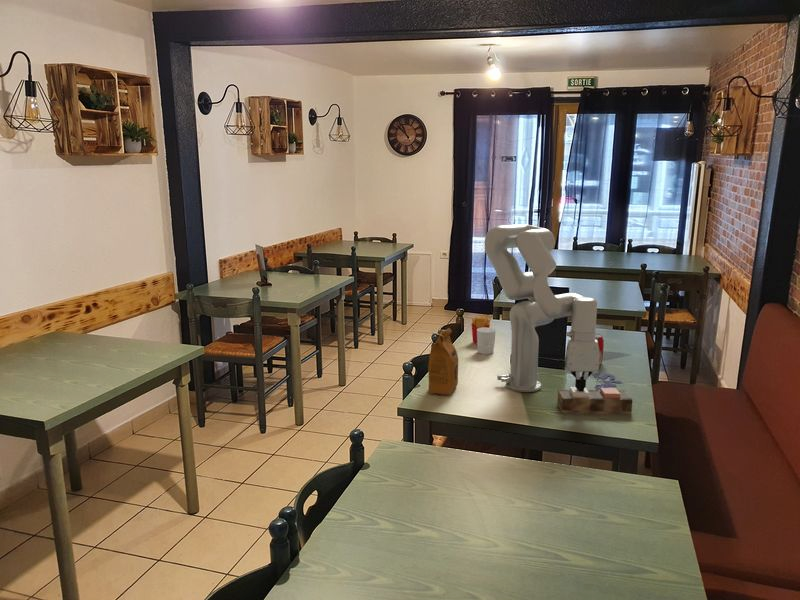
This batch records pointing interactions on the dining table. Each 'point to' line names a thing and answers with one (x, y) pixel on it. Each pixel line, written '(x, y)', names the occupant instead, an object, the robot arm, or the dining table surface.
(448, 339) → the coffee package
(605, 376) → the signage
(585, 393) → the cream key
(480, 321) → the french fries
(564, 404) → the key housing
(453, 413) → the dining table surface
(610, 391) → the red key
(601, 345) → the soda can
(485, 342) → the white cup
